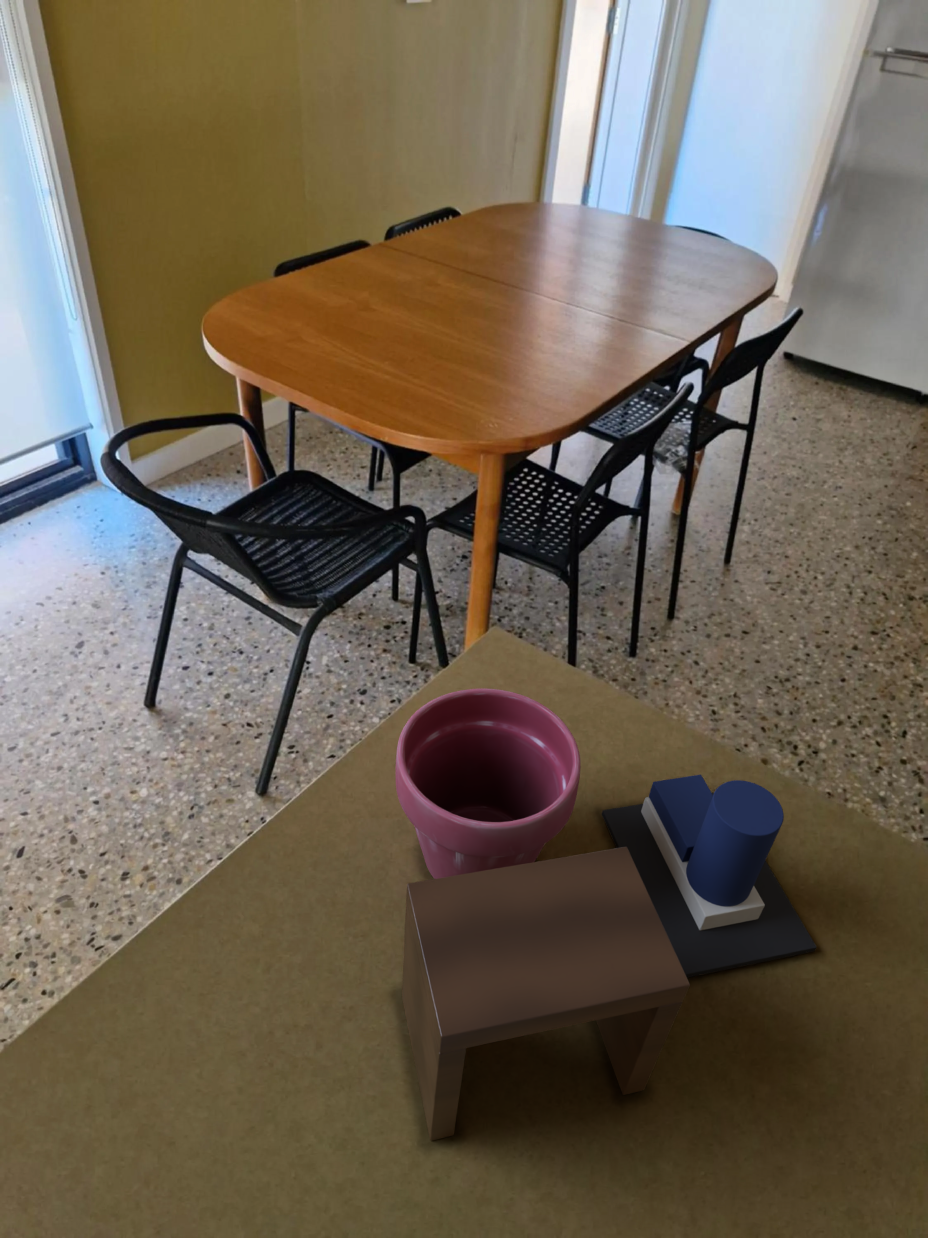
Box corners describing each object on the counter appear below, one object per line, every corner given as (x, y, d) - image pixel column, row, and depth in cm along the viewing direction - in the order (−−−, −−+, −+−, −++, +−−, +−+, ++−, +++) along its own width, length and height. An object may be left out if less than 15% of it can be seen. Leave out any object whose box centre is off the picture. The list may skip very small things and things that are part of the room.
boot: (758, 919, 71) (800, 834, 64) (699, 931, 70) (735, 845, 63) (693, 803, 80) (724, 716, 73) (640, 811, 79) (666, 724, 72)
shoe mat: (815, 951, 70) (817, 947, 69) (675, 980, 67) (677, 976, 67) (722, 795, 82) (724, 790, 81) (601, 814, 79) (602, 810, 79)
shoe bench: (644, 1090, 61) (690, 985, 52) (429, 1141, 57) (440, 1037, 49) (593, 958, 68) (627, 846, 59) (401, 996, 65) (406, 883, 56)
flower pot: (377, 803, 78) (378, 699, 70) (526, 776, 82) (543, 674, 74) (416, 947, 68) (422, 844, 60) (585, 909, 71) (612, 806, 63)
